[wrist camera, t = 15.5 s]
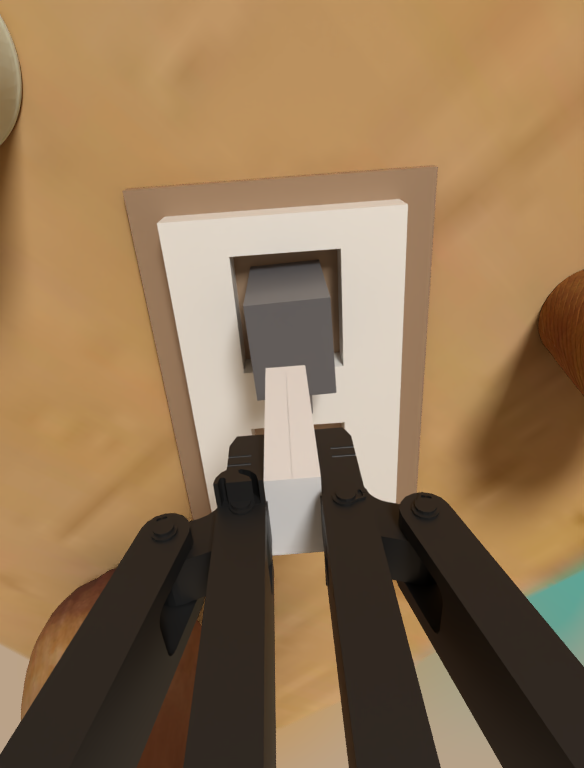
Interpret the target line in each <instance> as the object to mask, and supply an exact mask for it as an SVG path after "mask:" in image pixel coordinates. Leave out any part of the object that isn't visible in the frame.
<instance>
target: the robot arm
mask: <svg viewBox="0 0 584 768" xmlns="http://www.w3.org/2000/svg"><path fill="white" fill-rule="evenodd" d="M213 487H214V493H215V498H216V504H217V509H216V510H214V511H213V512H212V513H210V514H209V515H207V516H204V517H202V518H199V519H196V520H193V521H190V522H189V521H188V520H187V519H186V518H185V517H184V516H183V515H179V514H175V513H170V514H163V515H160V516H156V517H154V518H153V519H151V520H150V521H148V522H147V523H146V524H145V525H144V526H143V527H142V528H141V530H140V531H139V533H138V535H137V536H136V538H135V539H134V541H133V543H132V544H131V546H130V547H129V549H128V551H127V552H126V554H125V555H124V557H123V559H122V560H121V562H120V563H119V565H118V567H117V568H116V570H115V571H114V573H113V575H112V576H111V578H110V579H109V581H108V583H107V584H106V586H105V587H104V589H103V591H102V592H101V594H100V596H99V597H98V599H97V600H96V602H95V604H94V605H93V607H92V608H91V610H90V612H89V613H88V615H87V616H86V618H85V620H84V621H83V623H82V624H81V626H80V628H79V629H78V631H77V632H76V634H75V636H74V637H73V639H72V640H71V642H70V644H69V645H68V647H67V648H66V650H65V652H64V653H63V655H62V656H61V658H60V660H59V661H58V663H57V664H56V666H55V668H54V669H53V671H52V672H51V674H50V676H49V677H48V679H47V680H46V682H45V684H44V685H43V687H42V688H41V690H40V692H39V693H38V695H37V696H36V698H35V700H34V701H33V703H32V704H31V706H30V708H29V709H28V711H27V712H26V714H25V716H24V717H23V719H22V720H21V722H20V724H19V725H18V727H17V729H16V730H15V732H14V733H13V735H12V736H11V738H10V740H9V741H8V743H7V745H6V746H5V748H4V749H3V751H2V753H1V754H0V768H137V766H138V763H139V761H140V758H141V756H142V753H143V751H144V748H145V746H146V743H147V741H148V738H149V736H150V733H151V731H152V729H153V726H154V724H155V721H156V719H157V716H158V714H159V711H160V709H161V706H162V704H163V701H164V699H165V697H166V694H167V692H168V689H169V687H170V684H171V682H172V679H173V677H174V674H175V672H176V669H177V667H178V665H179V662H180V660H181V657H182V655H183V652H184V650H185V647H186V645H187V642H188V640H189V637H190V635H191V632H192V630H193V628H194V625H195V623H196V620H197V618H198V615H199V613H200V610H201V608H202V605H203V603H204V599H205V605H204V612H203V620H202V628H201V635H200V643H199V651H198V658H197V666H196V674H195V681H194V689H193V696H192V704H191V712H190V719H189V727H188V735H187V742H186V750H185V758H184V765H183V768H276V718H275V632H274V569H273V560H272V555H285V554H298V553H311V552H323V551H324V553H325V573H326V585H327V586H328V595H329V603H330V612H331V620H332V629H333V637H334V645H335V654H336V662H337V671H338V679H339V688H340V696H341V705H342V713H343V721H344V730H345V738H346V745H347V746H346V747H347V755H348V763H349V768H441V767H440V763H439V759H438V756H437V752H436V748H435V744H434V740H433V736H432V732H431V728H430V725H429V721H428V717H427V713H426V709H425V706H424V702H423V698H422V694H421V690H420V686H419V682H418V678H417V674H416V671H415V667H414V663H413V659H412V655H411V651H410V647H409V644H408V640H407V636H406V632H405V628H404V624H403V620H402V617H401V613H400V609H399V605H398V601H397V597H396V593H395V589H394V586H393V582H392V580H397V583H398V586H399V588H400V589H401V591H402V593H403V595H404V596H405V598H406V600H407V602H408V603H409V605H410V607H411V608H412V610H413V612H414V614H415V615H416V617H417V619H418V621H419V622H420V624H421V626H422V628H423V629H424V631H425V633H426V635H427V636H428V638H429V640H430V642H431V643H432V645H433V647H434V649H435V650H436V652H437V654H438V655H439V657H440V659H441V661H442V662H443V664H444V666H445V668H446V669H447V671H448V673H449V675H450V676H451V678H452V680H453V682H454V683H455V685H456V687H457V689H458V690H459V692H460V694H461V695H462V697H463V699H464V701H465V703H466V704H467V706H468V708H469V709H470V711H471V713H472V715H473V716H474V718H475V720H476V722H477V723H478V725H479V727H480V729H481V730H482V732H483V734H484V736H485V737H486V739H487V741H488V743H489V744H490V746H491V748H492V749H493V751H494V753H495V755H496V756H497V758H498V760H499V762H500V764H501V765H502V767H503V768H584V667H583V665H582V664H581V663H580V662H579V661H578V659H577V658H576V657H575V656H574V654H573V653H572V652H571V651H570V650H569V649H568V647H567V646H566V645H565V644H564V642H563V641H562V640H561V639H560V638H559V636H558V635H557V634H556V633H555V632H554V630H553V629H552V628H551V627H550V626H549V624H548V623H547V622H546V621H545V620H544V618H543V617H542V616H541V615H540V614H539V612H538V611H537V610H536V609H535V608H534V606H533V605H532V604H531V603H530V602H529V601H528V599H527V598H526V597H525V595H524V594H523V593H522V592H521V591H520V589H519V588H518V587H517V586H516V585H515V583H514V582H513V581H512V580H511V579H510V577H509V576H508V575H507V574H506V573H505V571H504V570H503V569H502V568H501V567H500V565H499V564H498V563H497V562H496V561H495V559H494V558H493V557H492V556H491V555H490V553H489V552H488V551H487V550H486V549H485V547H484V546H483V545H482V544H481V543H480V541H479V540H478V539H477V538H476V537H475V535H474V534H473V533H472V532H471V530H470V529H469V528H468V527H467V526H466V524H465V523H464V522H463V521H462V520H461V518H460V517H459V516H458V515H457V514H456V512H455V511H454V510H453V509H452V508H451V506H450V505H449V504H448V503H447V502H446V501H445V500H443V499H442V498H441V497H438V496H436V495H434V494H430V493H423V492H421V493H413V494H410V495H408V496H406V497H405V498H404V499H403V500H402V501H401V502H400V504H397V503H391V502H386V501H382V500H380V499H377V498H375V497H373V496H372V495H371V494H369V492H368V491H367V489H366V488H365V487H364V485H363V481H362V477H361V473H360V469H359V465H358V461H357V457H356V453H355V449H354V445H353V441H352V437H351V435H350V434H349V433H348V432H347V431H346V430H345V429H344V428H343V427H339V428H326V429H314V425H313V418H312V410H311V403H310V396H309V389H308V382H307V375H306V368H305V365H300V366H287V367H274V368H266V373H265V429H264V434H262V435H249V436H237V437H236V438H235V440H234V441H233V442H232V444H231V445H230V446H229V454H228V463H227V470H225V471H223V472H221V473H220V474H219V475H218V476H217V477H216V478H215V480H214V483H213ZM205 596H206V597H205Z"/></svg>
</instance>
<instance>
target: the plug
mask: <svg viewBox="0 0 584 768" xmlns="http://www.w3.org/2000/svg"><path fill="white" fill-rule="evenodd" d="M243 309H244V316H245V322H246V329H247V336H248V342H249V349H250V355H251V362H252V369H253V375H254V382H255V388H256V395H257V401H259V400H265V373H266V368H274V367H287V366H300V365H305V368H306V375H307V382H308V389H309V396H310V395H320V394H330V393H336V377H335V362H334V346H333V331H332V315H331V299H330V294H329V291H328V288H327V285H326V281H325V278H324V275H323V271H322V268H321V265H320V262H319V260H309V261H300V262H290V263H281V264H271V265H262V266H252V267H250V272H249V277H248V282H247V288H246V293H245V299H244V304H243Z"/></svg>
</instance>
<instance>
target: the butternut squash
mask: <svg viewBox="0 0 584 768" xmlns="http://www.w3.org/2000/svg"><path fill="white" fill-rule="evenodd" d="M115 570H116V568H115V569H112V570H109V571H108V572H106V573H105V574H103V575H102V576H100V577H99V578H97V579H95V580H93V581H91V582H89V583H87V584H85V585H83V586H81V587H79V588H77V589H76V590H75V591H74V592H73V593H72V594H71V595H70V596H68V597H67V598H66V599H65V600H64V601H63V602H62V603H61V604H60V605H59V606H58V607H57V609H56V610H55V611H54V612H53V614H52V615H51V617H50V618H49V620H48V622H47V623H46V625H45V627H44V628H43V630H42V632H41V634H40V636H39V637H38V639H37V641H36V644H35V646H34V648H33V651H32V654H31V657H30V662H29V665H28V669H27V673H26V678H25V683H24V691H23V697H22V705H21V720H22V719H23V717H24V716H25V714H26V712H27V711H28V709H29V708H30V706H31V704H32V703H33V701H34V700H35V698H36V696H37V695H38V693H39V692H40V690H41V688H42V687H43V685H44V684H45V682H46V680H47V679H48V677H49V676H50V674H51V672H52V671H53V669H54V668H55V666H56V664H57V663H58V661H59V660H60V658H61V656H62V655H63V653H64V652H65V650H66V648H67V647H68V645H69V644H70V642H71V640H72V639H73V637H74V636H75V634H76V632H77V631H78V629H79V628H80V626H81V624H82V623H83V621H84V620H85V618H86V616H87V615H88V613H89V612H90V610H91V608H92V607H93V605H94V604H95V602H96V600H97V599H98V597H99V596H100V594H101V592H102V591H103V589H104V587H105V586H106V584H107V583H108V581H109V579H110V578H111V576H112V575H113V573H114V571H115ZM201 628H202V626H201V625H200V623H199V622H198V620H196V623H195V625H194V628H193V630H192V632H191V635H190V637H189V640H188V642H187V645H186V647H185V650H184V652H183V655H182V657H181V660H180V662H179V665H178V667H177V669H176V672H175V674H174V677H173V679H172V682H171V684H170V687H169V689H168V692H167V694H166V697H165V699H164V701H163V704H162V706H161V709H160V711H159V714H158V716H157V719H156V721H155V724H154V726H153V729H152V731H151V733H150V736H149V738H148V741H147V743H146V746H145V748H144V751H143V753H142V756H141V758H140V761H139V763H138V766H137V768H183V765H184V758H185V750H186V742H187V735H188V727H189V719H190V712H191V704H192V696H193V689H194V681H195V674H196V666H197V658H198V651H199V643H200V635H201Z"/></svg>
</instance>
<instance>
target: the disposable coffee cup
mask: <svg viewBox="0 0 584 768" xmlns="http://www.w3.org/2000/svg"><path fill="white" fill-rule="evenodd" d="M538 329H539V334H540V338H541V341H542V343H543V345H544V346H545V347H546V348H547V349H548V351H549V352H550V353H551V354H552V356H553V357H554V359H555V360H556V361H557V362H558V364H559V365H560V366H561V368H562V369H563V370H564V371H565V373H566V374H567V375H568V377H569V378H570V379H571V380H572V382H573V383H574V384H575V385H576V387H577V388H578V389H579V390H580V392H581V393H582V394H583V396H584V270H581V271H579V272H576V273H575V274H573V275H571V276H570V277H568V278H566V279H565V280H564V281H563V282H561V283H560V284H559V285H558V286H557V287H556V288H555V289H554V290H553V292H552V293H551V294H550V295H549V297H548V298H547V300H546V302H545V303H544V305H543V307H542V310H541V313H540V317H539V324H538Z"/></svg>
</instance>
